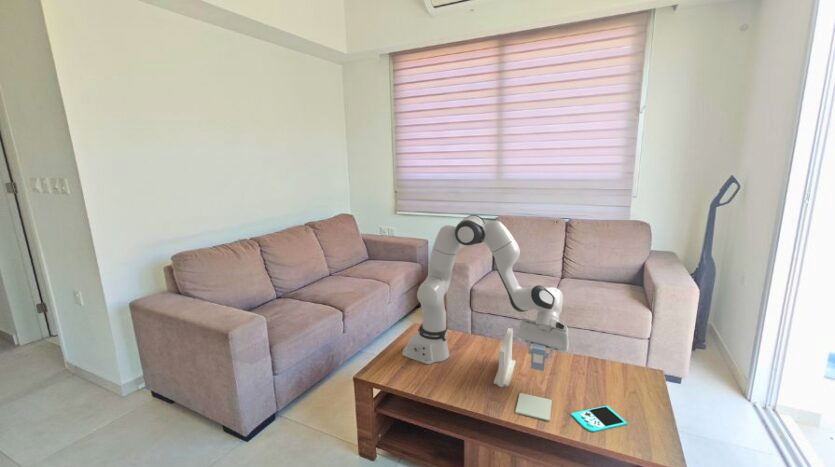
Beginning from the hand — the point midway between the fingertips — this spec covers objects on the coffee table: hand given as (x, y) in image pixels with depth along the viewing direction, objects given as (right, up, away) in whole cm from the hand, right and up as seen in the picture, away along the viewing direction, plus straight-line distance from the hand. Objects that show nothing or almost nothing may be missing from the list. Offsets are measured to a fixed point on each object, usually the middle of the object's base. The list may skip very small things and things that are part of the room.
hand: (538, 356), depth 151 cm
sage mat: (-5, -16, -9) cm, 19 cm away
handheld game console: (+16, -18, -16) cm, 29 cm away
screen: (-10, -11, +13) cm, 20 cm away
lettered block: (0, -5, +2) cm, 5 cm away
